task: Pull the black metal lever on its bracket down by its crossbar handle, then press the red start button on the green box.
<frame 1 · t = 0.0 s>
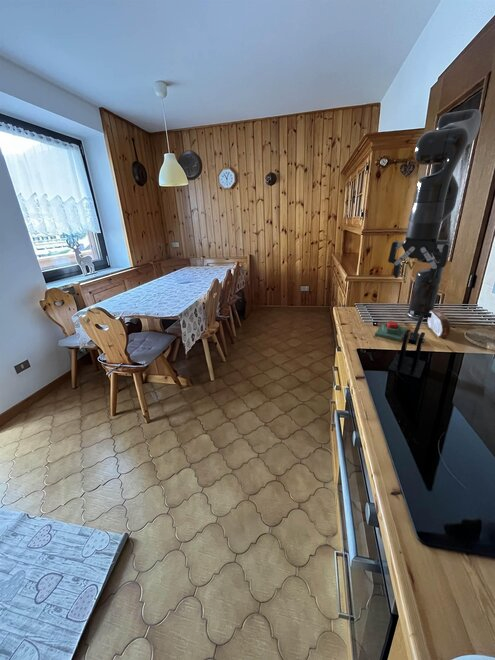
hand: (412, 279, 82), 29 cm above the counter, tool pointing down, fingers open, 8 cm apart
bracket: (406, 368, 93), on the counter
button box: (390, 335, 113), on the counter
white and brown slab: (435, 333, 113), on the counter
button: (392, 325, 111), point 4 cm above the counter, slide at 0.1 cm
lever: (417, 326, 90), point 13 cm above the counter, hinge at 25.0°
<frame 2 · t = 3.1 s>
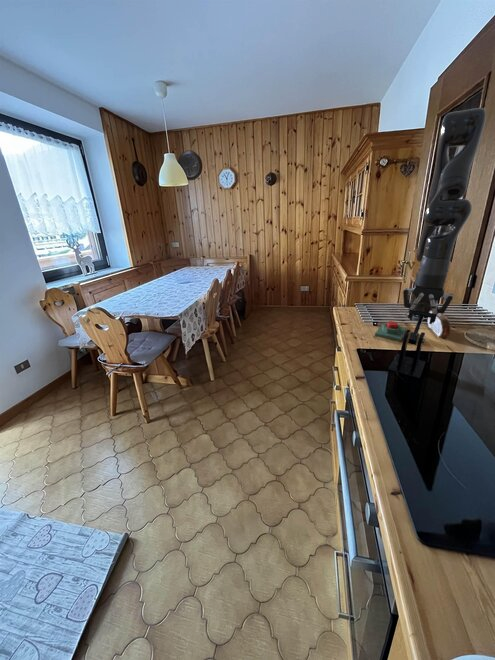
hand: (420, 321, 94), 13 cm above the counter, tool pointing down, fingers closed on lever, 5 cm apart
lever: (417, 326, 90), point 13 cm above the counter, hinge at 24.9°, touching gripper
everything else where it was.
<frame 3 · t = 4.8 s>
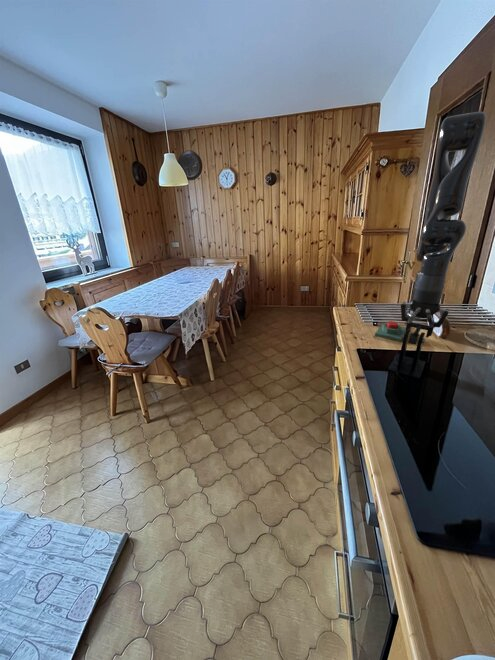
hand: (417, 334, 97), 8 cm above the counter, tool pointing down, fingers closed on lever, 5 cm apart
lever: (416, 332, 91), point 11 cm above the counter, hinge at -1.6°, touching gripper
everything else where it was.
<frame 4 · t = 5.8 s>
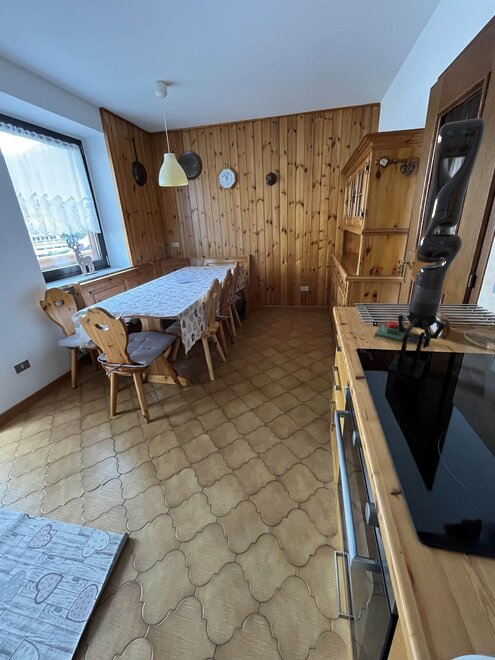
hand: (415, 344, 98), 4 cm above the counter, tool pointing down, fingers closed on lever, 5 cm apart
lever: (415, 337, 92), point 9 cm above the counter, hinge at -21.2°, touching gripper
everything else where it was.
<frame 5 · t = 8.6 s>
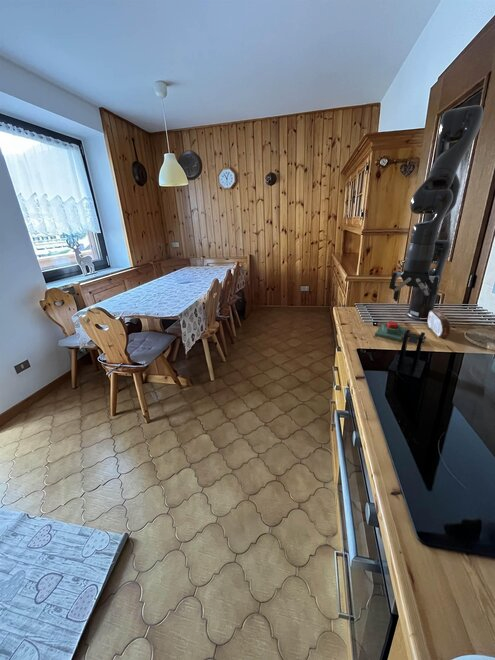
hand: (409, 302, 100), 16 cm above the counter, tool pointing down, fingers open, 8 cm apart
lever: (415, 337, 92), point 9 cm above the counter, hinge at -21.7°
everything else where it was.
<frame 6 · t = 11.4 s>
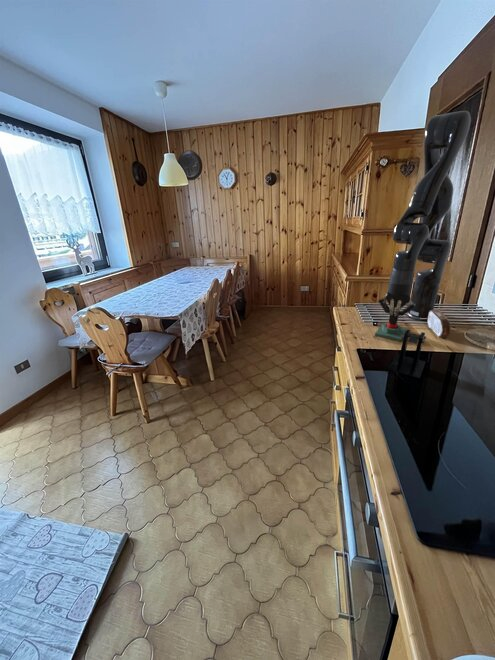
hand: (392, 323, 110), 5 cm above the counter, tool pointing down, fingers closed
button: (392, 325, 111), point 4 cm above the counter, slide at -0.1 cm, touching gripper
everything else where it was.
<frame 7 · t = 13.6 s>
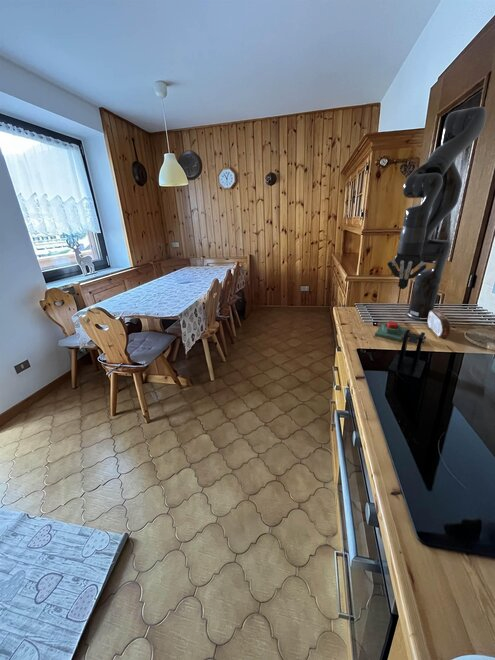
hand: (402, 288, 104), 20 cm above the counter, tool pointing down, fingers closed
button: (392, 325, 111), point 4 cm above the counter, slide at 0.1 cm
everything else where it was.
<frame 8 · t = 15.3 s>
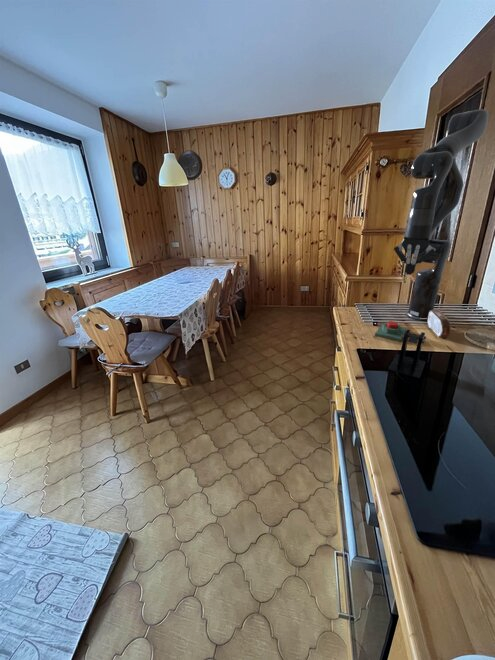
hand: (409, 274, 101), 25 cm above the counter, tool pointing down, fingers closed
nothing on the counter moved.
at the end: lever at -22° (first picture: +25°); button pushed in 1.2 cm at the most during the clip, back to where it started at the end; button slide at 0.1 cm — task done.
